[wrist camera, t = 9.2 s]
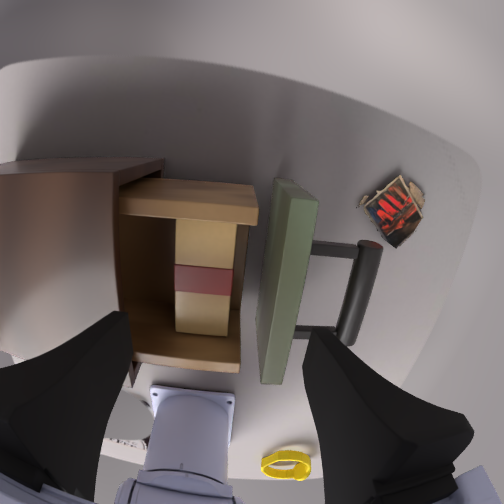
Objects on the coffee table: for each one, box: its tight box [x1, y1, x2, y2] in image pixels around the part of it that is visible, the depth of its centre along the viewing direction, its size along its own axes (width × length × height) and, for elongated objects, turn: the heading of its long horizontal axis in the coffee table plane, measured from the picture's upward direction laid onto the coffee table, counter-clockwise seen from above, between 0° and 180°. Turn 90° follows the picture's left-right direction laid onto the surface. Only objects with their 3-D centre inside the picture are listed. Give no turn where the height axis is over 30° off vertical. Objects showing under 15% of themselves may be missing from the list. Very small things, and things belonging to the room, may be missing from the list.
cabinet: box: [0, 157, 165, 388], centre depth 16 cm, size 13×11×8 cm
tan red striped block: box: [174, 219, 237, 337], centre depth 17 cm, size 7×3×4 cm, turn 174°
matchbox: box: [356, 175, 425, 248], centre depth 20 cm, size 5×5×1 cm
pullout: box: [119, 177, 383, 385], centre depth 17 cm, size 17×10×7 cm, turn 84°
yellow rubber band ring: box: [261, 450, 311, 481], centre depth 30 cm, size 6×3×6 cm
